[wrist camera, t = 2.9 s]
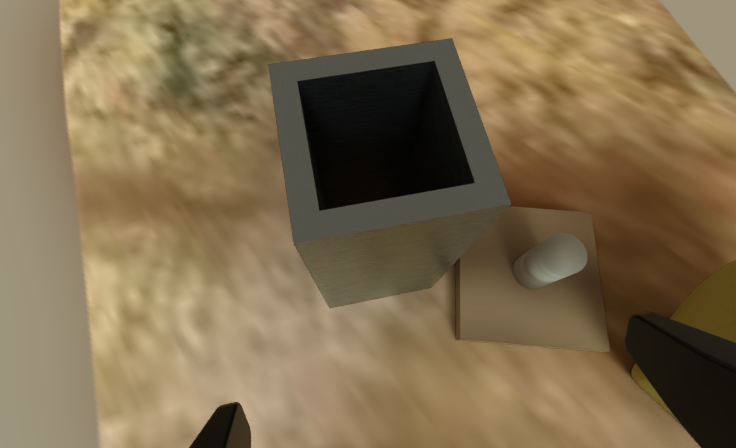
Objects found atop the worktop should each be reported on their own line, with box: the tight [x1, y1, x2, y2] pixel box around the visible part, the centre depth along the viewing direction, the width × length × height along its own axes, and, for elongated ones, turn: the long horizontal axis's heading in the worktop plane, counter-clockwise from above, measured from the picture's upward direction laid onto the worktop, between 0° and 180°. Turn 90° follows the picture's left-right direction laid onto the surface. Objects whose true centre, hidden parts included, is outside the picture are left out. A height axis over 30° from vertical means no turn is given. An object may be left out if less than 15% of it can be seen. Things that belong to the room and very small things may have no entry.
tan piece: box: [456, 206, 610, 352], centre depth 20 cm, size 8×8×5 cm
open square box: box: [268, 38, 511, 308], centre depth 17 cm, size 6×6×12 cm
